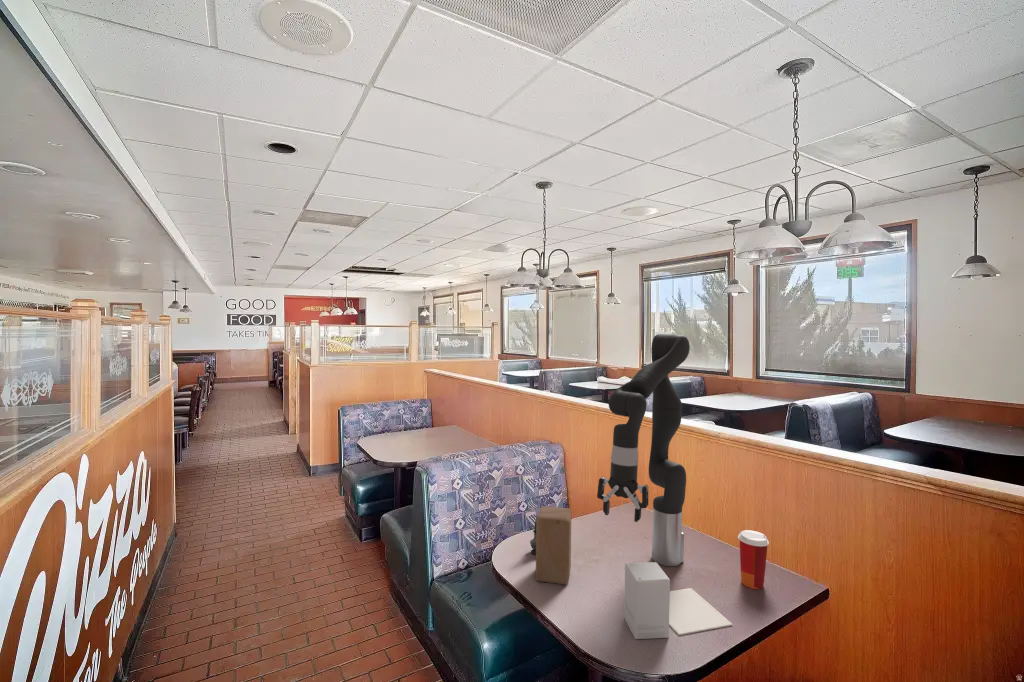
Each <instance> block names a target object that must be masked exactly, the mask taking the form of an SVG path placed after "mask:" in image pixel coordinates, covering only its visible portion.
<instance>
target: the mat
mask: <svg viewBox="0 0 1024 682" xmlns="http://www.w3.org/2000/svg"><path fill="white" fill-rule="evenodd" d="M731 626H733V623H732V622H731V621H730V620H728V619H727V618H726V617H725V616H724V615H722V614H721V613H720V612H719V611H718V610H717V609H716V608H715V607H714V606H712V605H711V604H710V603H709V602H708V601H707V600H705V598H704V597H702V596H701V595H700V594H698V593H697V592H696V591H695V590H694V589H693V588H692V587H688V588H682V589H676V590H670V606H669V628H671V629H672V630H673V631H674V632H675V633H676V634H677V635H678V636H684V635H691V634H695V633H699V632H704V631H705V632H706V631H711V630H715V629H721V628H726V627H731Z"/></svg>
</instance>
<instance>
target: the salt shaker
mask: <svg viewBox="0 0 1024 682" xmlns="http://www.w3.org/2000/svg"><path fill="white" fill-rule="evenodd" d="M536 522H537V520H535V521H534V528H533V535H534V536H533V538H532V539H530V540H529V544H530V546H531V548H532V549H531V550H530V554H531V555H533V556H534V557H536Z"/></svg>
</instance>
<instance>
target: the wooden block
mask: <svg viewBox="0 0 1024 682" xmlns="http://www.w3.org/2000/svg"><path fill="white" fill-rule="evenodd" d="M572 512H573V511H572V510H571V508H569V507H559V506H558V507H557V506H548V505H547V506H546V505H542V506H540V508H539V511H538V514H537V516H536V521H537V522H536V556H535V578H536V579H535V580H536V581H537V582H541V583H542V582H544V583H552V584H559V585H568V584H569V581H570V574H571V567H572V516H573V515H572Z"/></svg>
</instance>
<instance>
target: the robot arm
mask: <svg viewBox="0 0 1024 682" xmlns="http://www.w3.org/2000/svg"><path fill="white" fill-rule="evenodd" d="M689 341H690V340H689V339H688V338H687V336H685V335H683V334H674V333H673V334H670V333H659V334H656V335H655V336H653V339H652V341H651V350H650V351H651V352H650V353H651V362H650V363H648V364H646V365H645V366H643V367H642V368H640V369H639V370H637V372H636V373H635V375H634V376H633V377H632V378H631V380H630V381H628V382H625V383H624V384H622V385H621V386H620V387H618V388H617V389H615V390H613V392H612V394H611V395H610V396H609V399H608V409H609V410H610V412H611V413H613V415H617V416H622V417H628V420H627V422H626V423H618V424H616V425H614V427H613V431H612V435H613V436H612V447H611V454H610V473H609V476H610V477H609V478H606V477H605V476H601V477H600V478H599V479H598V485H597V486H598V487H597V492H596V493H597V495H596V498H597V499H600V500H602V502H603V503H602V504H603V505H602V506H603V507H602V508H603V509H602V511H603V513H604V515H605V516H608V515H610V510H611V509H610V505H611V502H610V499H611V498H612V497H613V496H614V495H615V496H616V497H619V498H624V499H629V500H630V502H631V503H632V504H633V505H634V507H635V508H634V516H633V517H634V518H633V519H634V520H633V521H634V522H635V523H638V522H639V521H640V520H641V518H642V509H647V507H648V506H649V486H648V484H644V485H643V484H639V483H638V470H639V469H638V467H639V434H640V430H641V426H642V422H643V419H644V417H645V414H646V412H647V400H646V399H648V398H649V397H650V396H651V395H652V405H651V407H652V408H651V409H652V411H651V421H652V422H651V423H652V426H651V427H652V428H651V429H652V430H651V443H650V444H651V445H650V451H649V452H650V454H649V463H648V477H649V480H650V482H651V483H653V484H654V485H655V486H658V487H659V488H662V489H664V490H663V495H658V496H655V497H654V498H653V500H652V536H651V539H652V540H651V541H652V542H651V558H652V560H653V562H657V564H658V565H661V566H665V567H677V566H679V565H681V563H684V561H685V560H684V559H685V557H684V556H685V554H684V553H685V533H684V532H683V529H682V527H683V525H682V524H683V507H684V503H685V499H686V486H687V473H686V469H685V467H684V466H683V465H682V464H680V463H679V462H675V461H672V460H670V459H669V449H670V447H669V446H670V443H671V441H672V439H673V437H674V436H675V434H676V433H677V431H678V429H679V428H680V426H681V423H682V411H683V410H682V407H683V406H682V401H681V398H680V397H681V396H680V395H679V393H678V392H677V389H676V388H675V387H674V385H673V384H672V381H671V379H670V378H669V374H671V373H672V372H673V371H674V370H676V369H677V368H678V367H679V366H680V365H681V364H683V363H684V362H685V361H686V360H687V358H688V357H689V354H690V349H691V346H690V342H689ZM607 484H608V486H609V487H610V489H611V490H609V491H608V493H607V494H604V493H605V486H607ZM637 490H639V492H640V494H641V499H642V500H641V501H640V499H639V496H638V494H637V493H636V491H637Z"/></svg>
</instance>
